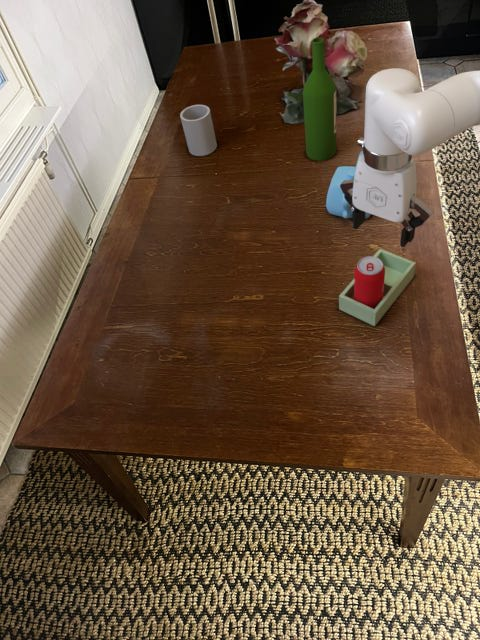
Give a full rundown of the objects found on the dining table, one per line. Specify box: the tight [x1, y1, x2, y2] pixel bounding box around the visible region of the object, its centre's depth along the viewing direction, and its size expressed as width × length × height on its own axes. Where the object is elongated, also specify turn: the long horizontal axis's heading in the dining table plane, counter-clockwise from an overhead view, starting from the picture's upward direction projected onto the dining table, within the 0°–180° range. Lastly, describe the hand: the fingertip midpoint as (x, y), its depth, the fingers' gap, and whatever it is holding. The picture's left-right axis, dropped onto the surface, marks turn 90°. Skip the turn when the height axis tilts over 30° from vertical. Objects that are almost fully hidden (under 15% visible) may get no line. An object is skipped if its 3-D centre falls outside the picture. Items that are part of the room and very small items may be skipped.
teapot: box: [325, 150, 372, 220], centre depth 136 cm, size 12×18×12 cm
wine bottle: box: [303, 38, 337, 162], centre depth 145 cm, size 9×9×32 cm
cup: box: [179, 104, 218, 157], centre depth 164 cm, size 9×9×12 cm
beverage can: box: [353, 255, 385, 309], centre depth 114 cm, size 6×6×12 cm
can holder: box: [338, 248, 417, 327], centre depth 119 cm, size 9×17×5 cm, turn 141°
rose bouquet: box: [274, 0, 369, 125], centre depth 165 cm, size 26×29×30 cm
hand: (382, 233), depth 97 cm, fingers open, 9 cm apart
